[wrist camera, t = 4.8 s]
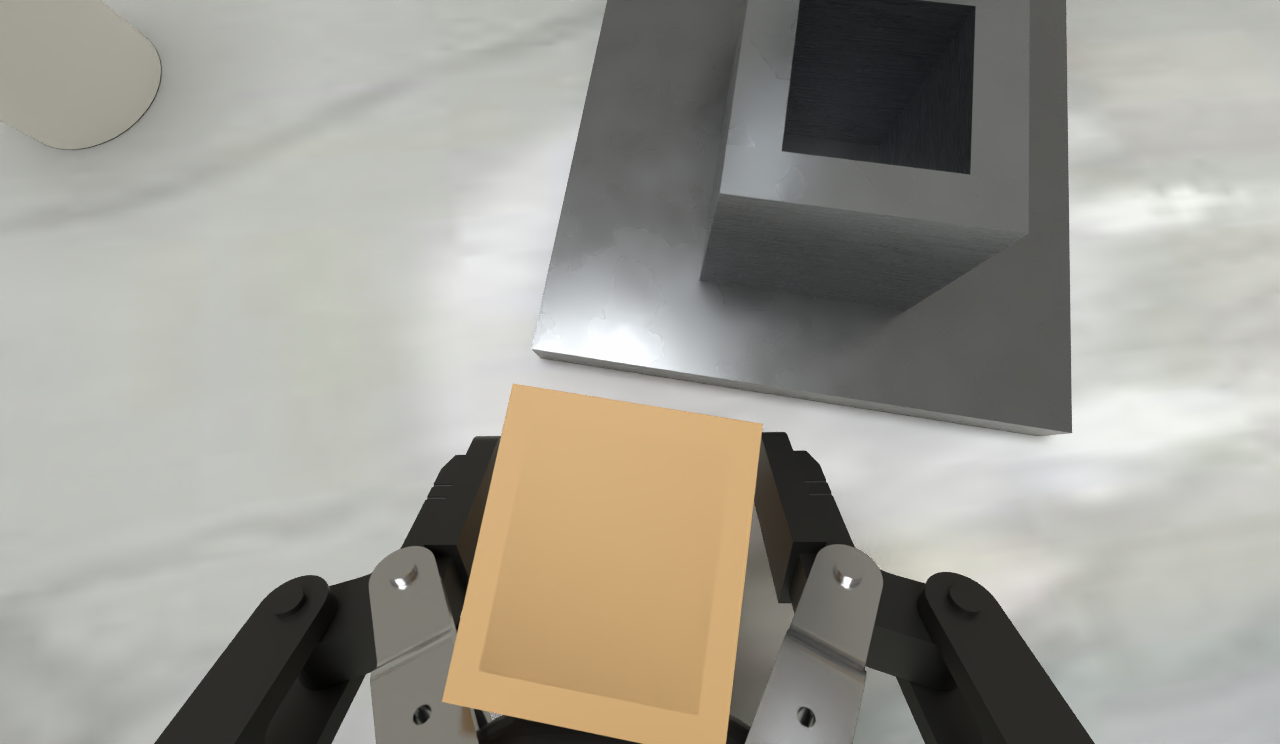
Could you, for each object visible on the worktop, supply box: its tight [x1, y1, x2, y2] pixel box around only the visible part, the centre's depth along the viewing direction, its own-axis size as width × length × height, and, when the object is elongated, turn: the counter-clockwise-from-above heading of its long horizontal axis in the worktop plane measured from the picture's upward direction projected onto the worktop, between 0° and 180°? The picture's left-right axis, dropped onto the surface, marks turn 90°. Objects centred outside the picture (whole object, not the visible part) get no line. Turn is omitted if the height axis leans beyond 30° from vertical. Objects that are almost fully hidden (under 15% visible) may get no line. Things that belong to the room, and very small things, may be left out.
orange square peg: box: [442, 384, 763, 744], centre depth 12 cm, size 4×4×12 cm
